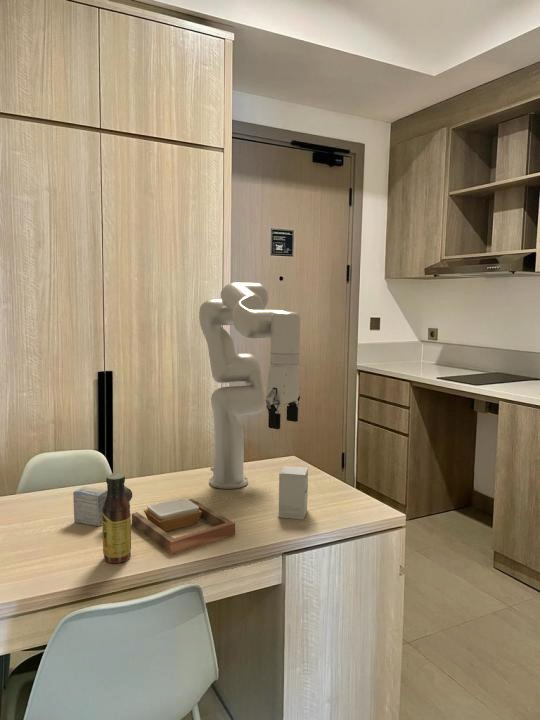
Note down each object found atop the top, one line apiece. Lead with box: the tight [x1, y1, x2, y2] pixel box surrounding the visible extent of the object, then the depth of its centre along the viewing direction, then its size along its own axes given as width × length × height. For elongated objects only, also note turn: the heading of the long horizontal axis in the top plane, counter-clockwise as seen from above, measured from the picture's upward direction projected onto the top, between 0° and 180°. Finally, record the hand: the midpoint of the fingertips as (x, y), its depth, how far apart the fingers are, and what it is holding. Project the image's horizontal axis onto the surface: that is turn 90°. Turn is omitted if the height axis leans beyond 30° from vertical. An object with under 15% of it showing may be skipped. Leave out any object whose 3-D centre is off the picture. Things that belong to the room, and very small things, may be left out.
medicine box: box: [72, 486, 107, 527], centre depth 147 cm, size 8×4×9 cm, turn 71°
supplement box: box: [277, 465, 309, 520], centre depth 154 cm, size 7×7×13 cm
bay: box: [124, 485, 236, 555], centre depth 142 cm, size 25×23×11 cm
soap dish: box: [143, 497, 202, 533], centre depth 147 cm, size 12×10×5 cm
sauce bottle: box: [101, 472, 132, 564], centre depth 126 cm, size 7×6×20 cm
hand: (283, 424), depth 144 cm, fingers open, 9 cm apart
